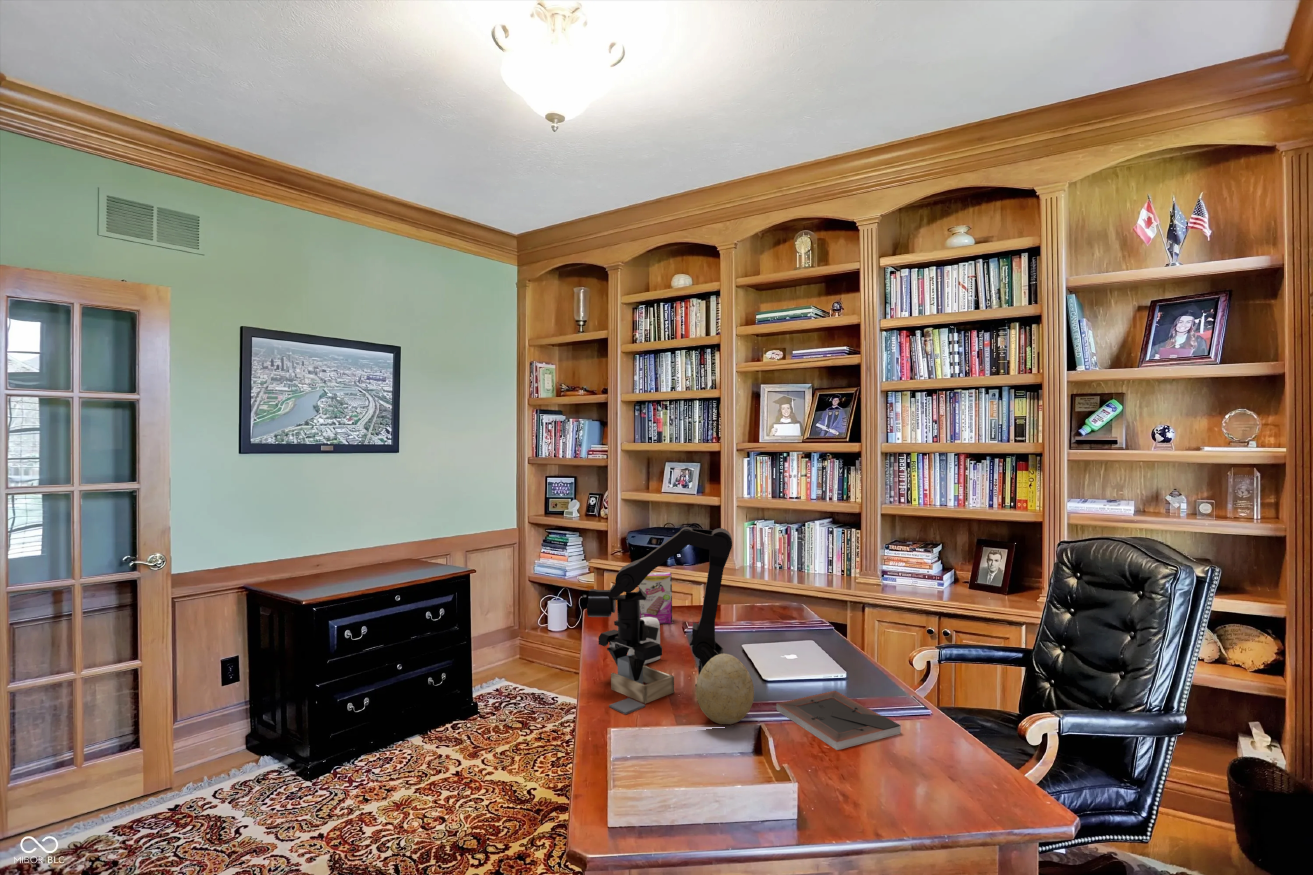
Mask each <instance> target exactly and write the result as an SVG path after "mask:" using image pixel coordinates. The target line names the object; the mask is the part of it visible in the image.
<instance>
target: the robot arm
mask: <svg viewBox="0 0 1313 875" xmlns="http://www.w3.org/2000/svg"><path fill="white" fill-rule="evenodd" d="M687 546H693V547H696V548H699V549H702V550H708V559H709V560H708V561H709V562H708V563H709V564H708V571H707V578H706V584H705V591H704V596H703V597H704V598H703V602H702V603H703V604H702V609H701V615H700V618H699V621H698V622H692V627H691V628H692V630H691V631H692V632H691V634H690V638H689V646H691V651H692V654H693V655H694V657H695V658H697V659H698V675H699V674H700V672H701V670H702V669H703V667H704V666H705V664H706V663H707V662H708V661H709V660H710V659H711V658H713V657H714V656H716V655H719V654H725V652H724V650H725V649H724V648H723V647H722V645H720V644H719V643H718V642H717V641H716V619H717V612H718V606H719V598H720V593H721V586H722V581H723V575H724V569H725V566H726V564H727V562H728V559H729V556H730V554H731V551H732V548H733V538H732V535H731V533H730V532H729V531H728V529H725V528H721V527H719V528H716V529H713V530H712V529H704V528H693V527H689V526H684V527H682V528H681V529H680V530H679V531H678V532H677V533H675V534H674V535H673V536H671V537H670V538H669V539H668V540H666V541H664V542H663V543H662V544H661V545H659V546H658V547H656V548H655V549H654V550H652V551H651V552H649V553H648V554H647V555H646V556H644V557H642V558H639V559H637V560H634V561H632V562H630V563H628V564H626V565H624V566H622V567H621V568H620V570H619V571H618V573H617V574H616V575H615V580H614V582H615V584H613V585H611V588H610V589H596V588H595V589H594V588H591V589H589V590H588V598H587V605H586V614H587V617H588V618H590V617H591V618H611V617H612V614H615V613H616V608H617V620H614V621H613V623H614V624H613V625H614V626H616V627H617V629H610V630H607V631H605V632H601V633H600V634H599V635H598V646H599V645H600V646H601V647H606V650H607V651H608V652H609V655H610V656H611V657H612V659H613V661H614V662H615V663H614V664H616V667H617V668H618V658H621V657H624V656H627V655H628V651H629V649H633V650H634V655H631V656H628V657H629V662H630V665H631V670H632V674H633V677H634V680H635V681H637V680H639V677H640V674H641V671H642V668H643V665H645V664H644V663H645V660H649V659H652V658H655V657H658V656H660V657H661V656H663V646H662V645H661V643H660V644H658V643H655V642H652V641H649V642H646V643H642V644H641V643H640V641H645V640H646V638H650V639H653V640H656V639H657V634H658V630H659V628H657V627H653V626H650V625H646V624H645V622H644V620H642V619H640V600H646V598H647V594H646V593H645V592H643V591H642V589H639V588H638V591H634V590H635V589H636V588H637V587H639V584H640V583H641V582H642V581H643V580H644V579H645V578H646V577H647V576H648V574H649V573H652V572H653V571H654V570H656V569H657V568H658V567H659V566H661V565H662V564H663V563H665V562H666V561H667V560H669V559H670V558H672V557H674V555H676V554H678V553H679V552H680V551H681V550H683V549H684V548H686V547H687ZM623 593H625V594H623ZM616 601H617V602H616ZM616 606H617V607H616ZM607 646H608V647H607ZM696 685H697V683H695V687H696Z"/></svg>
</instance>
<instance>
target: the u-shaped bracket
mask: <svg viewBox="0 0 1313 875" xmlns="http://www.w3.org/2000/svg"><path fill="white" fill-rule="evenodd" d="M644 683H645V684H644ZM610 686H611V687H610V688H611V691H614V692H617V693H619V694H621V695H623V696H626V697H627V698H630V699H633V700H635V701H637V702H640V703H642V704H644V705H646V704H648V703H651V702H653V701H656V700H658V699H661V698H663V697H665V696H668V695H672V694H674V693H675V676H674V675H672V674H669V673H666V672H663V671H660V670H658V669H655V668H652V667H650V666H647V665H646V664H644V665H643V684H641V683H638V682H636V681H633V680H631V679H628V678H626V677H623V676H621V675H618V673H615V672H611V673H610Z"/></svg>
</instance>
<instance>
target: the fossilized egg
mask: <svg viewBox="0 0 1313 875" xmlns="http://www.w3.org/2000/svg"><path fill="white" fill-rule="evenodd" d="M696 684H697V685H696V686H695V696H696V700H697V703H698V706H699V708H700V709H701V711H702V713H703V714H704V715H705V716H706V717H707V718H708V719H709V720H710V721H712V722H714V723H716V724H719V725H722V724H730V725H733V724H736V723H738V722H740V721H741V720H743V719H744V718H745V717H746V716H747V715H748V713H749V712H750V711H751V708H752V706H753V703H754V699H755V688H754V687H755V686H754V683H753V679H752V676H751V674H750V672H749V671H748V669H747V667H746V666H745V665H744V664H743V663H742V662H741V661H740V659H739V658H737V657H735V655H732V654H729V653H724V654H719V655H716V656H714V657H713V658H711V659H710V660H709V661H708V662H707V663H706V664H705V666H704V667H703V669H702V670H701V672H700V674H699V673H698V677H697V681H696Z"/></svg>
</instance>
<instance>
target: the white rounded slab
mask: <svg viewBox="0 0 1313 875" xmlns="http://www.w3.org/2000/svg"><path fill="white" fill-rule="evenodd" d="M640 619H642V620H644V622H645V624H646V625H650V626H653V627H657V628H659V630H658V634H657V639H656V640H653V639H650V638H646V640H645V641H640V643H641V644H642V643H646V642H649V641H652V642H655V643H658V644H660V645H661V624H660V623H659V621H658V619H657V618H653V617H643V618H640ZM630 654H632V655H634V650H633V649H629V651H628V653H627V655H630ZM660 659H661V656H658V657H655V658H652V659H649V660H645V663H644V665H647V664H649V663H653V662H656V661H658V660H660Z"/></svg>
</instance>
